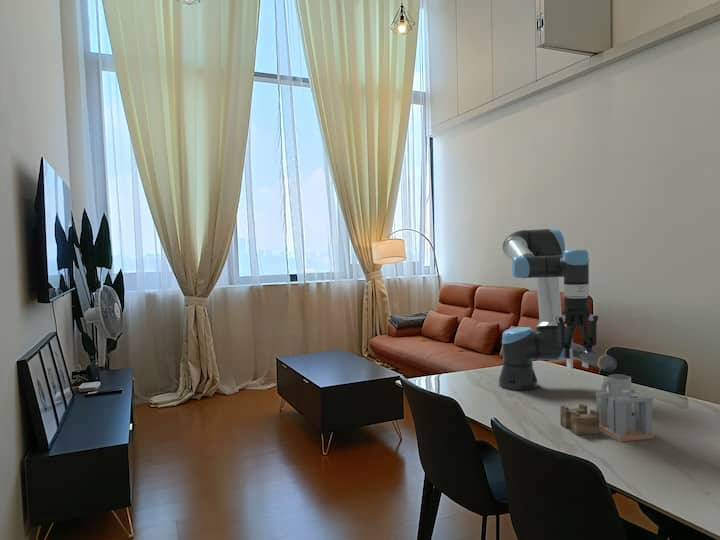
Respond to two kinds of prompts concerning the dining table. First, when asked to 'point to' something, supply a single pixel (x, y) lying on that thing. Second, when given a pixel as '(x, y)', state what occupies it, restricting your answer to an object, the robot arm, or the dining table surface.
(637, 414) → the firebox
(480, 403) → the dining table surface
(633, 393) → the ornament
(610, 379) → the cup
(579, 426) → the rack
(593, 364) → the tube
